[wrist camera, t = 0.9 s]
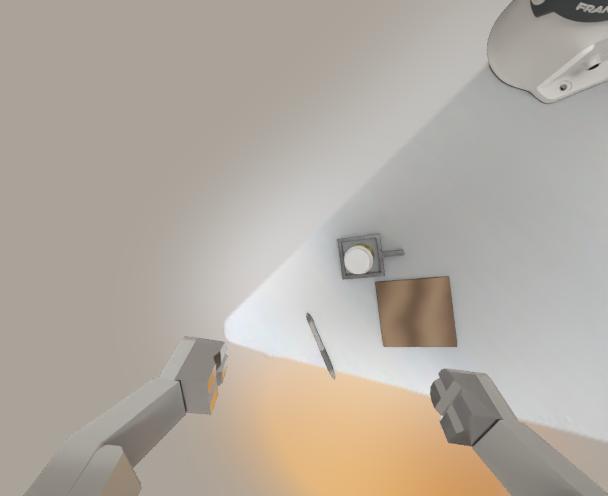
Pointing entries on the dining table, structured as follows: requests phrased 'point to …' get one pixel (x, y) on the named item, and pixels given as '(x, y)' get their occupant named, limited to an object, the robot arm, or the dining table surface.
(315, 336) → the pen
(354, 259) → the supplement bottle
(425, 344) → the pad
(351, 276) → the grey frame with handle
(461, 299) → the dining table surface
